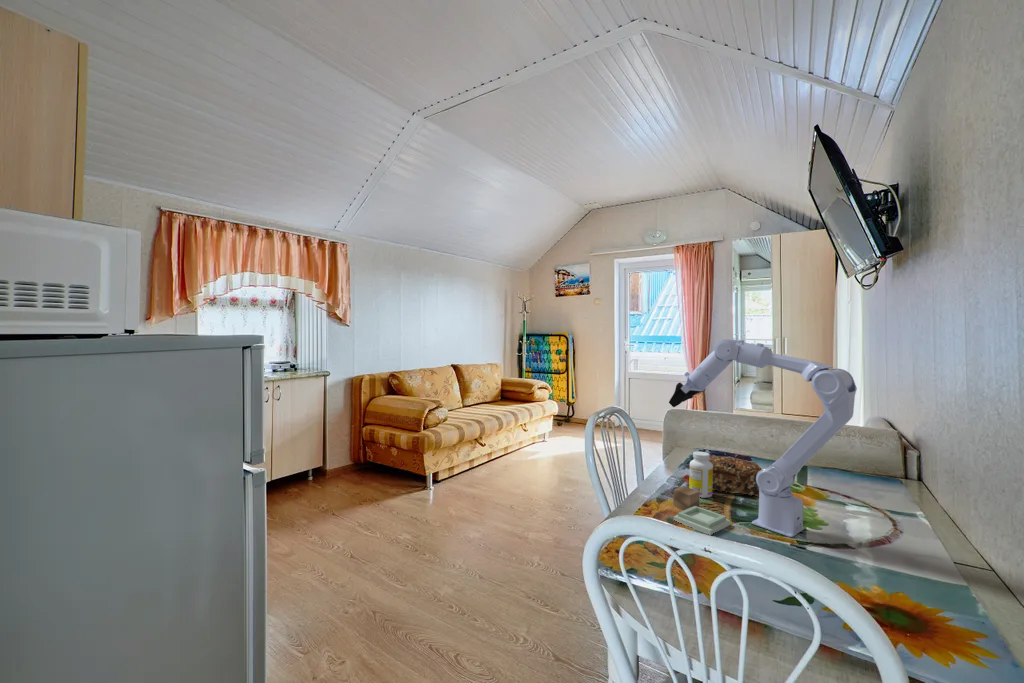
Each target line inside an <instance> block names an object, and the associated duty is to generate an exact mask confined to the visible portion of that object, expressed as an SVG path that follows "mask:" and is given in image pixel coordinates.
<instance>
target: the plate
mask: <svg viewBox="0 0 1024 683" xmlns="http://www.w3.org/2000/svg"><path fill="white" fill-rule="evenodd" d="M674 520H675V521H677V522H676V523H678V522H679V523H678V524H680V523H682V524H681V525H683V526H686V527H688V526H689V528H690V527H692V528H691V529H693V530H696V531H698V532H701V533H704V534H706V535H708V534H709V535H708V536H711V535H713V533H714V534H716V533H718V532H719V531H721V530H723V529H725V528H727V527H729V526H731V520H730V519H727V515H723V514H720V513H718V512H714V511H712V510H709V509H706V508H703V507H700V506H699V507H698V506H693V507H691V508H688V509H686V510H684V511H683V510H682V511H679V512H677V514H676V515H674V516H673V521H674ZM675 521H674V522H675ZM715 532H716V533H715Z"/></svg>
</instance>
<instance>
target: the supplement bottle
mask: <svg viewBox="0 0 1024 683" xmlns="http://www.w3.org/2000/svg"><path fill="white" fill-rule="evenodd" d="M710 456H711V454H710V453H709V452H705V451H693V453H692V457H693V459H692V460H690V462H689V470H688V471H689V472H688V473H689V474H688V477H689V479H688V480H689V482H688V488H691V489H694V490H697V491H700V495H699V498H700V497H701V498H702V499H708V498H712V496H713V492H714V490H713V465H712V463H711V462H709V458H710Z"/></svg>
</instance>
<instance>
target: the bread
mask: <svg viewBox="0 0 1024 683" xmlns="http://www.w3.org/2000/svg"><path fill="white" fill-rule="evenodd" d="M709 462H711V463H712V465H713V491H715V490H717V491H718V492H722V491H727V492H735V493H742V494H741V495H744V494H745V495H746V494H748V495H747V496H752V495H755V496H757V497H759V486H758V485H757V482H756V476H757V473H758V472H759V471H761V470H763V469H762V467H760V466H759V464H757V462H754V461H749V460H745V459H744V460H743V459H740V458H737V457H734V456H733V457H731V456H723V455H722V456H721V455H710V458H709ZM727 492H726V493H727ZM755 496H754V497H755Z"/></svg>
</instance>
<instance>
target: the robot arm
mask: <svg viewBox="0 0 1024 683" xmlns="http://www.w3.org/2000/svg"><path fill="white" fill-rule="evenodd" d="M733 361H735V362H737V363H739V364H745V365H746V366H747V365H748V366H751V367H756V368H760V369H763V368H765V367H767V366H771V367H776V368H779V369H782V370H783V369H784V370H787V371H790V372H792V373H793V372H794V373H798V374H800V375H801V376H802V377H803V379H804V380H805V382H811V387H812V390H813V391H814V393H815V394H816V395H817V397H818V398H819V399H820V401H821V403H822V408H823V413H822V414H821V415H820V416H819V417H818V418H817V419H816V420H815V421H814V422H813V423H812V425H811V424H810V425H811V426H809V427H808V428H807V429H806V430H805V432H803V434H802V435H801V436H800V437H799V438H798V439H797V440H795V442H794V443H793V444H792V445H791V446H790V447H789V448H788V449H787V450H786V451H785V452H784V453H783V454H782V456H780V457H779V458H778V459H776V460H775V461H774V462H773V463H772V464H771V465H770V466H769V467H766V468H763V469H762V470H761V471H759V472H758V473H757V476H756V482H757V485H758V486H759V496H758V517H757V518H756V519H754V520H752V521H751V524H752V525H755V526H757V527H760V528H763V529H766V530H769V531H770V532H771V531H772V532H775V533H777V534H780V535H782V536H787V537H789V538H792V537H795V536H796V535H797V534H798V533H800V532H802V531H803V530H804V526H803V524H804V503H803V499H801V498H799V497H796V496H794V495H793V492H792V490H791V486H792V485H793V484H795V480H796V477H797V474H798V473H799V472H800V471H801V469H802V468H803V467H805V466H804V465H806V464H807V463H808V462H809V461H810V460H811V459H812V458H813V457H814V456H815V455H816V454H817V453H818V452H820V450H821V449H822V448H823V447H824V446H825V445H826V444H827V443H828V442H829V441H830V440H832V438H833V437H834V436H835V435H837V433H839V431H840V430H841V429H842V428H844V427H845V425H846V424H848V422H849V421H850V420H851V419H852V418H853V417H854V411H855V410H854V409H855V408H854V407H855V400H856V399H855V398H856V393H857V389H858V388H857V386H856V382H855V380H854V376H852V374H851V373H850V372H849V371H847V370H845V369H842V368H834V366H833V365H830V364H826V363H823V362H819V361H815V360H810V359H804V358H799V357H794V356H787V355H783V354H778V353H774V352H772V351H771V349H769V347H767V346H765V344H764V343H760V342H759V343H756V344H753V343H750V342H745V340H742V339H739V340H737V339H721V340H718V341H717V342H716V343H715V345H714V347H713V350H712V352H710V354H708V355H707V356H706V358H704V359H703V361H701V362H700V364H698V365H697V366H696V367H695V368H694V370H692V372H690V373H689V371H687V372H685V373H684V374H683V375H684V376H685V383H684V384H683V383H682V382H678V383H677V384H676V385H675V389H674V391H673V392H674V393H673V394H672V396H671V398H670V399H669V402H668V404H670V406H671V407H673V408H675V407H678V406H680V405H681V403H683V402H686V401H688V400H691V399H693V398H694V396H695V395H697V394H699V393H703V392H705V391H706V388H707V387H708V386H709V385H710V384H711V383H712V382H713V381H714V380H715V379H716V378H717V377H718V376H720V374H721V373H722V372H723V371H724V370H726V369H727V367H728V366H729V365H730V364H731V363H732V362H733Z"/></svg>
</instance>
